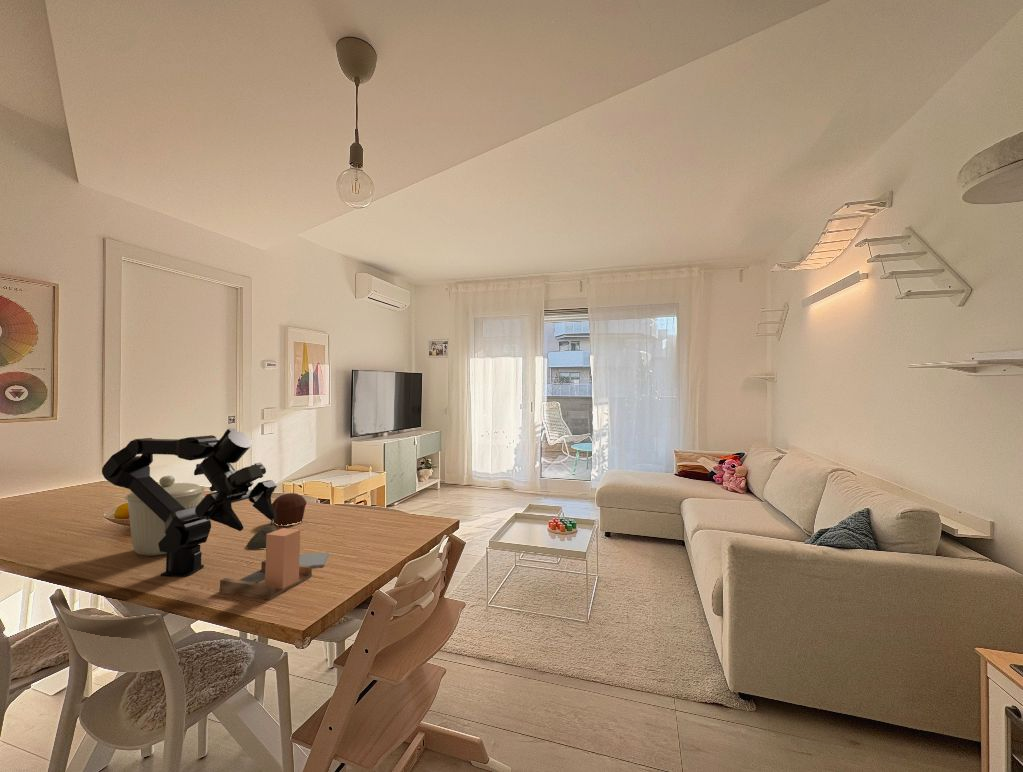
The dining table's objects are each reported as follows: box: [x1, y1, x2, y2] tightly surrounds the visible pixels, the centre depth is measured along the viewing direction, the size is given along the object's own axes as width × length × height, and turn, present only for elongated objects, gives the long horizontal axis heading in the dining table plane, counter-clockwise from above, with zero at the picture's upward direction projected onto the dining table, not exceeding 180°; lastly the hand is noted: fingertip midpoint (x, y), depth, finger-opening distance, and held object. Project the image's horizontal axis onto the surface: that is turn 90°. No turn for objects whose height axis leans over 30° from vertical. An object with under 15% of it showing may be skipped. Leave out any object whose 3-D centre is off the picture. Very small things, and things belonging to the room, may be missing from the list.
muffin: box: [271, 492, 307, 525], centre depth 152 cm, size 12×11×10 cm
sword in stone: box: [245, 502, 278, 550], centre depth 130 cm, size 10×8×12 cm
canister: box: [124, 475, 206, 556], centre depth 124 cm, size 18×18×21 cm
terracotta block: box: [265, 527, 301, 589], centre depth 101 cm, size 5×5×12 cm
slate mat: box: [299, 552, 330, 569], centre depth 116 cm, size 9×9×1 cm
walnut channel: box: [218, 559, 313, 601], centre depth 102 cm, size 14×13×3 cm
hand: (258, 524), depth 104 cm, fingers open, 9 cm apart
